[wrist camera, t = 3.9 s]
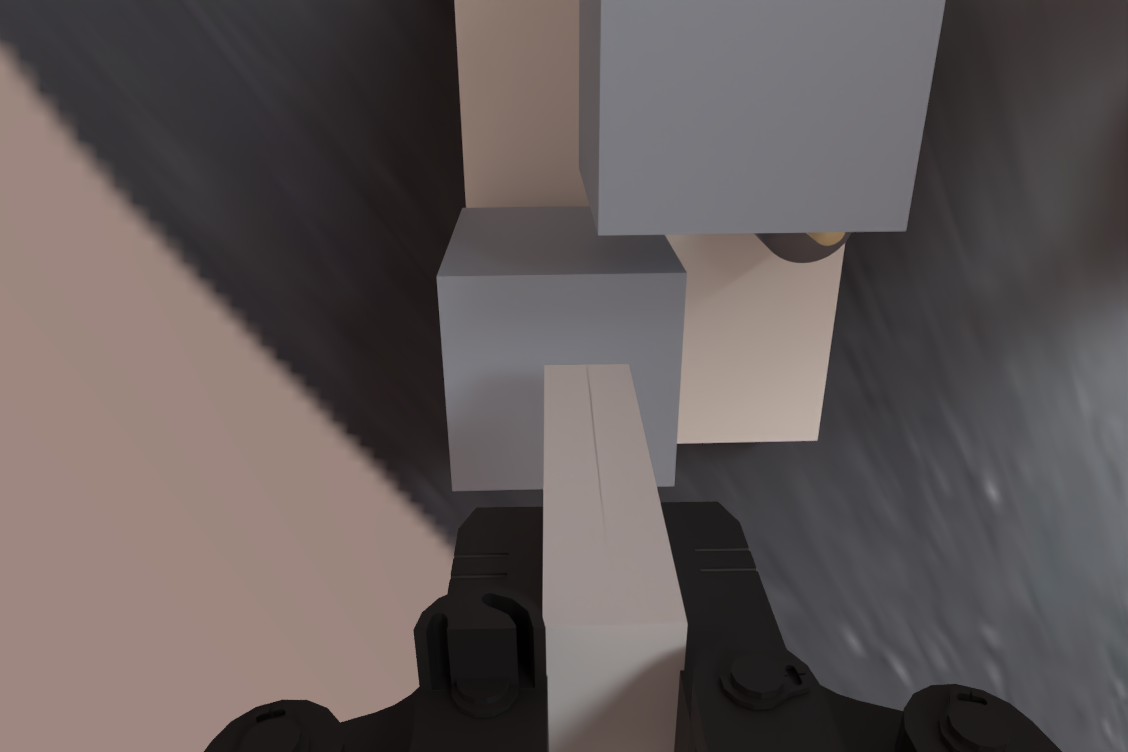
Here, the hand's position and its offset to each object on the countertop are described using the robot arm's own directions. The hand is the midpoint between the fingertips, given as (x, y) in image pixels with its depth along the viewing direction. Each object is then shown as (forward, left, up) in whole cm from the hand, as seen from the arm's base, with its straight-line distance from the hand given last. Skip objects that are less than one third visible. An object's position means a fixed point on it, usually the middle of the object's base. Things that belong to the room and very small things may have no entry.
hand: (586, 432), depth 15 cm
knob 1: (0, 0, -9) cm, 9 cm away
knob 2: (-3, -6, -6) cm, 9 cm away
